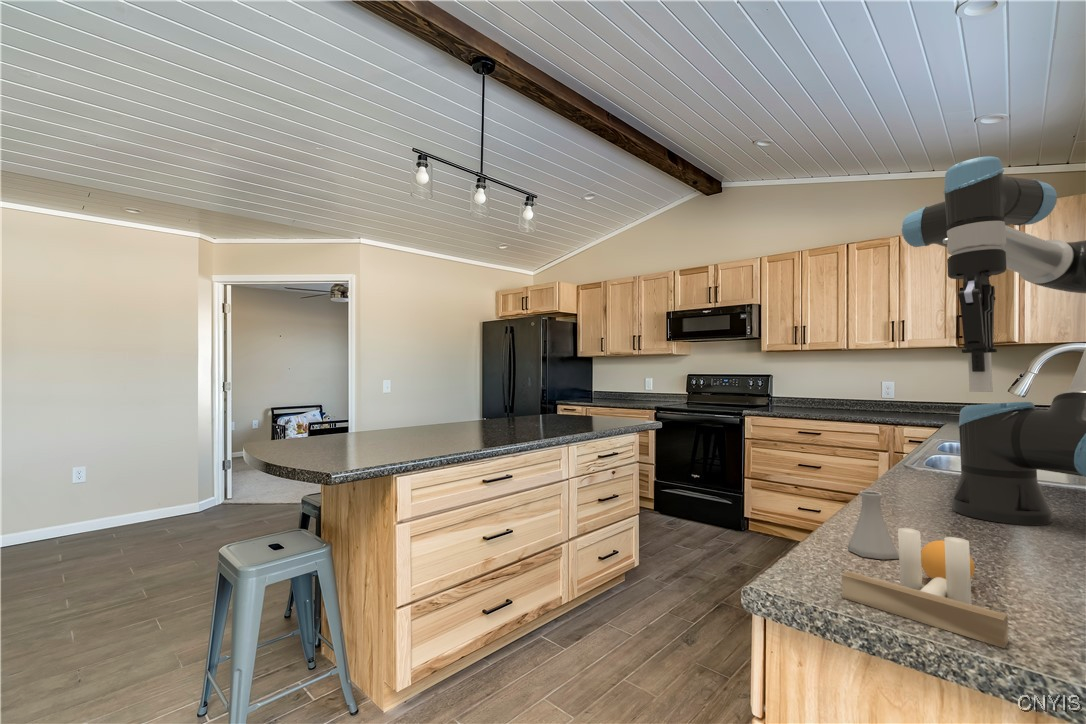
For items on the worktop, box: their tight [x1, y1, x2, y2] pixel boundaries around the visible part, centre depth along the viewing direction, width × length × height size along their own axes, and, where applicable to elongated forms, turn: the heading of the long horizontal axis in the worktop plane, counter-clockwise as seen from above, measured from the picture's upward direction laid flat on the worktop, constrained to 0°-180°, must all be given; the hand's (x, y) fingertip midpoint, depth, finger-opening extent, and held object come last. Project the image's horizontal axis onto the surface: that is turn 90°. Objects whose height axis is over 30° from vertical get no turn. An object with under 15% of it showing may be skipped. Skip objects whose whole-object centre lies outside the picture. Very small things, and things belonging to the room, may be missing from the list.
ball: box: [921, 539, 976, 580], centre depth 70 cm, size 6×6×6 cm
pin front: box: [920, 577, 947, 598], centre depth 64 cm, size 2×2×8 cm
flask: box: [847, 490, 899, 560], centre depth 82 cm, size 7×7×10 cm
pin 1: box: [897, 527, 923, 591], centre depth 67 cm, size 2×2×8 cm
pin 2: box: [944, 536, 972, 605], centre depth 63 cm, size 2×2×8 cm
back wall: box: [841, 570, 1009, 649], centre depth 60 cm, size 2×16×3 cm, turn 38°
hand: (981, 391), depth 84 cm, fingers closed
